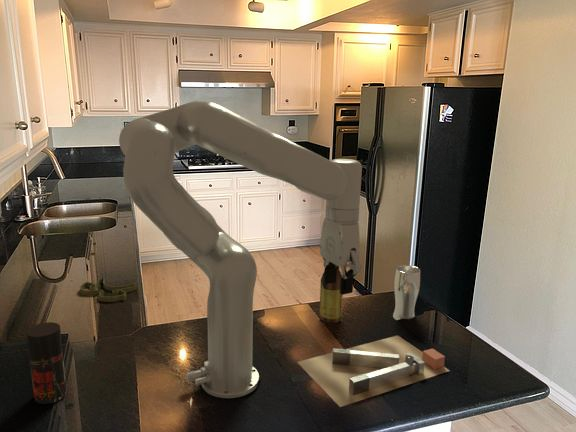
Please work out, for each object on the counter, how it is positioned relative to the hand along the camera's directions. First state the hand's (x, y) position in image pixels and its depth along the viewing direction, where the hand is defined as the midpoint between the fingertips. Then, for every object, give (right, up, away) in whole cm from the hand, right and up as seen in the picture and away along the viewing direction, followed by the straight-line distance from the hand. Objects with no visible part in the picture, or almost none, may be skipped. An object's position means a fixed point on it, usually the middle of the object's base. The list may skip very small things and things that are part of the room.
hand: (337, 287), depth 110 cm
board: (+8, -19, -2) cm, 21 cm away
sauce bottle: (0, -13, +22) cm, 26 cm away
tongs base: (+9, -19, -8) cm, 23 cm away
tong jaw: (+6, -18, -2) cm, 19 cm away
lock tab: (+22, -18, -1) cm, 28 cm away
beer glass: (+22, -13, +24) cm, 35 cm away
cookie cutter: (-69, -8, +36) cm, 78 cm away
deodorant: (-61, -20, -14) cm, 65 cm away
